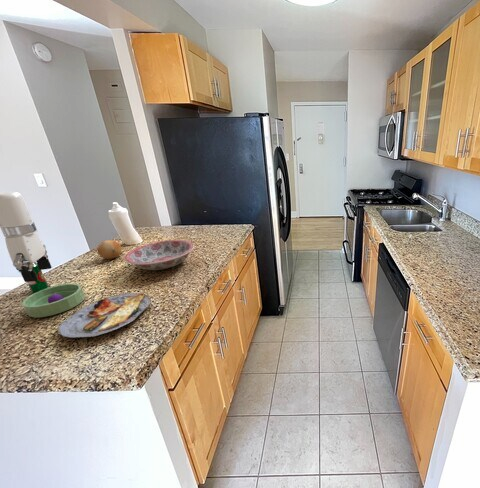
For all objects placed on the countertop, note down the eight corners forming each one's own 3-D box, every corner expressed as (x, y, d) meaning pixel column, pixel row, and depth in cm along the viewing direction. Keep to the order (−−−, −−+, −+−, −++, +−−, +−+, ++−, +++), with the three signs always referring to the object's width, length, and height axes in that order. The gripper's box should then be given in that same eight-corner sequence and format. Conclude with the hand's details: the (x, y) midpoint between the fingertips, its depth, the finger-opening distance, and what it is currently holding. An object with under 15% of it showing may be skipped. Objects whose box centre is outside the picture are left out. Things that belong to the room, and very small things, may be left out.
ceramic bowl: (176, 249, 147) (173, 236, 144) (209, 260, 133) (206, 246, 130) (117, 270, 124) (112, 254, 121) (149, 286, 110) (144, 269, 107)
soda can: (28, 292, 107) (15, 265, 102) (43, 285, 111) (31, 260, 107) (37, 293, 105) (24, 267, 101) (52, 287, 110) (40, 261, 105)
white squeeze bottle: (132, 246, 151) (119, 204, 142) (114, 246, 151) (100, 204, 142) (145, 239, 162) (134, 200, 153) (129, 239, 162) (116, 200, 153)
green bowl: (18, 323, 88) (11, 311, 86) (41, 299, 101) (36, 288, 99) (76, 311, 94) (71, 300, 92) (91, 290, 107) (87, 280, 105)
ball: (48, 308, 95) (43, 299, 93) (53, 302, 98) (48, 293, 97) (62, 305, 96) (58, 296, 95) (66, 300, 100) (62, 291, 98)
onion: (109, 263, 131) (103, 245, 127) (96, 260, 134) (89, 242, 130) (128, 255, 139) (123, 238, 136) (115, 253, 142) (109, 236, 139)
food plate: (101, 298, 102) (98, 291, 100) (162, 296, 103) (160, 288, 102) (41, 345, 79) (36, 336, 77) (121, 341, 80) (118, 332, 79)
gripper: (19, 223, 93) (37, 266, 99) (-15, 239, 78) (9, 288, 84) (47, 221, 96) (63, 263, 102) (19, 236, 81) (40, 284, 87)
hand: (39, 274), depth 93 cm, fingers open, 9 cm apart
